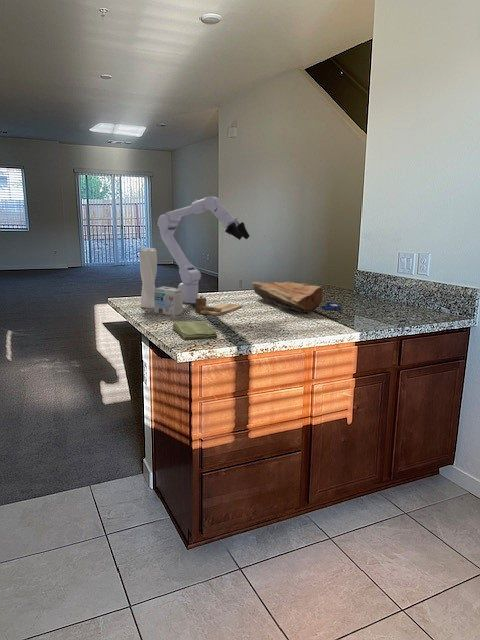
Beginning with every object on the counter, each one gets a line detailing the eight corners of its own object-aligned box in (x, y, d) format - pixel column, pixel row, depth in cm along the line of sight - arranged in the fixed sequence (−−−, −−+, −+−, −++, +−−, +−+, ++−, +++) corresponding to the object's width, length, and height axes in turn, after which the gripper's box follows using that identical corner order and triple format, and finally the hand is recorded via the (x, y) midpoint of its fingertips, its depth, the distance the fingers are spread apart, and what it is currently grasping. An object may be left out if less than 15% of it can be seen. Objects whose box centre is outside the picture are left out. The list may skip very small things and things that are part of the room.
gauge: (195, 311, 206) (195, 296, 205) (199, 310, 210) (200, 295, 208) (218, 315, 201) (219, 299, 200) (222, 313, 205) (223, 298, 203)
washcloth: (183, 341, 159) (183, 332, 159) (170, 329, 175) (170, 320, 175) (219, 339, 164) (219, 330, 164) (204, 327, 180) (204, 319, 179)
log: (323, 313, 210) (324, 279, 209) (288, 311, 203) (290, 277, 203) (280, 310, 249) (281, 282, 249) (249, 308, 243) (251, 279, 242)
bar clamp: (317, 301, 230) (336, 301, 232) (316, 306, 231) (335, 306, 233) (343, 318, 200) (365, 318, 202) (342, 324, 200) (364, 323, 202)
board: (200, 313, 203) (200, 310, 203) (224, 305, 224) (224, 302, 223) (218, 315, 200) (219, 313, 199) (241, 307, 220) (241, 305, 220)
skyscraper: (136, 307, 210) (135, 244, 204) (144, 304, 217) (144, 243, 211) (152, 309, 208) (152, 245, 202) (159, 306, 215) (159, 244, 209)
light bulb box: (153, 312, 201) (153, 287, 198) (163, 310, 207) (163, 286, 204) (174, 316, 196) (174, 290, 194) (183, 313, 202) (183, 288, 200)
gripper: (222, 209, 204) (243, 231, 202) (237, 210, 217) (256, 231, 215) (213, 221, 207) (233, 243, 205) (227, 221, 220) (247, 242, 218)
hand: (244, 237), depth 210 cm, fingers open, 7 cm apart
